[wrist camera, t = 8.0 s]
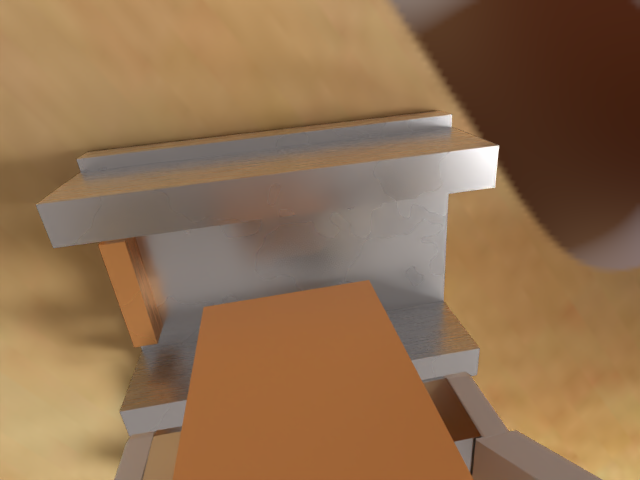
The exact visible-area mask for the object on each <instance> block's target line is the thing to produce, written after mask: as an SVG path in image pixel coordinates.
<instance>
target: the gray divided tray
mask: <svg viewBox="0 0 640 480" xmlns="http://www.w3.org/2000/svg"><path fill="white" fill-rule="evenodd" d="M498 150H499V145H497V144H494V143H492V142H489V141H486V140H484V139H481V138H479V137H476V136H474V135H471V134H469V133H466V132H464V131H461V130H459V129H456V128H453V127H452V114H449V113H446V112H443V111H431V112H423V113H414V114H406V115H397V116H389V117H380V118H372V119H363V120H355V121H346V122H338V123H329V124H321V125H312V126H304V127H295V128H287V129H278V130H269V131H261V132H252V133H244V134H235V135H227V136H218V137H210V138H201V139H193V140H184V141H176V142H167V143H159V144H150V145H142V146H133V147H125V148H116V149H108V150H99V151H91V152H87V153H85V154H84V155H82V156H80V157H79V158H77V159H76V160H77V162H78V165H79V168H80V171H81V172H80V173H78V174H77V175H76V176H74V177H73V178H72V179H70V180H69V181H67V182H66V183H65V184H63V185H62V186H60V187H59V188H58V189H56V190H55V191H54V192H52V193H51V194H49V195H48V196H47V197H45V198H44V199H42V200H41V201H40V202H38V203H37V204H36V207H37V209H38V212H39V214H40V217H41V219H42V222H43V224H44V227H45V229H46V232H47V234H48V236H49V239H50V241H51V244H52V246H53V248H59V247H66V246H73V245H81V244H88V243H95V242H100V244H99V245H98V246H99V249H100V252H101V255H102V258H103V261H104V263H105V266H106V269H107V272H108V275H109V278H110V280H111V283H112V286H113V289H114V292H115V295H116V297H117V300H118V303H119V306H120V309H121V312H122V314H123V317H124V320H125V323H126V326H127V329H128V331H129V334H130V337H131V340H132V343H133V346H134V347H140V346H141V349H142V351H141V354H140V357H139V360H138V362H137V365H136V368H135V371H134V373H133V376H132V379H131V382H130V385H129V387H128V390H127V393H126V396H125V398H124V401H123V404H122V407H121V409H120V414H121V416H122V419H123V421H124V424H125V426H126V429H127V431H128V434H129V436H131V435H134V434H140V433H146V432H152V431H157V430H162V429H168V428H174V427H180V426H182V424H183V418H184V413H185V407H186V402H187V396H188V391H189V385H190V379H191V374H192V368H193V363H194V357H195V352H196V346H197V340H198V335H199V329H200V324H201V318H202V313H203V307H207V306H213V305H219V304H225V303H231V302H237V301H243V300H249V299H255V298H262V297H268V296H274V295H280V294H286V293H292V292H298V291H304V290H310V289H317V288H323V287H329V286H335V285H341V284H347V283H353V282H359V281H365V280H369V281H370V283H371V285H372V286H373V288H374V290H375V292H376V294H377V296H378V298H379V300H380V302H381V304H382V306H383V307H384V309H385V311H386V313H387V315H388V317H389V319H390V321H391V323H392V325H393V327H394V328H395V330H396V332H397V334H398V336H399V338H400V340H401V342H402V344H403V346H404V348H405V349H406V351H407V353H408V355H409V357H410V359H411V361H412V363H413V365H414V367H415V369H416V370H417V372H418V374H419V376H420V378H421V380H425V379H430V378H435V377H440V376H442V377H443V376H445V375H450V374H455V373H460V372H467V373H468V374H470V376H474V375H477V370H478V360H479V349H480V348H479V347H478V346H477V344H476V343H475V342H474V340H473V339H472V338H471V336H470V335H469V334H468V332H467V331H466V330H465V328H464V327H463V326H462V324H461V323H460V322H459V321H458V319H457V318H456V317H455V315H454V314H453V313H452V311H451V310H450V309H449V307H448V306H447V305H446V303H445V302H444V280H445V258H446V236H447V215H448V194H451V193H458V192H466V191H473V190H480V189H487V188H495V182H496V172H497V161H498Z"/></svg>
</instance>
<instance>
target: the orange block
mask: <svg viewBox="0 0 640 480" xmlns="http://www.w3.org/2000/svg"><path fill="white" fill-rule="evenodd" d="M173 480H474V479H473V477H472V475H471V474H470V472H469V470H468V468H467V466H466V464H465V462H464V460H463V458H462V456H461V454H460V453H459V451H458V449H457V447H456V445H455V443H454V441H453V439H452V437H451V435H450V433H449V432H448V430H447V428H446V426H445V424H444V422H443V420H442V418H441V416H440V414H439V412H438V411H437V409H436V407H435V405H434V403H433V401H432V399H431V397H430V395H429V393H428V391H427V390H426V388H425V386H424V384H423V382H422V380H421V378H420V376H419V374H418V372H417V370H416V369H415V367H414V365H413V363H412V361H411V359H410V357H409V355H408V353H407V351H406V349H405V348H404V346H403V344H402V342H401V340H400V338H399V336H398V334H397V332H396V330H395V328H394V327H393V325H392V323H391V321H390V319H389V317H388V315H387V313H386V311H385V309H384V307H383V306H382V304H381V302H380V300H379V298H378V296H377V294H376V292H375V290H374V288H373V286H372V285H371V283H370V281H369V280H365V281H359V282H353V283H347V284H341V285H335V286H329V287H323V288H317V289H310V290H304V291H298V292H292V293H286V294H280V295H274V296H268V297H262V298H255V299H249V300H243V301H237V302H231V303H225V304H219V305H213V306H207V307H203V313H202V318H201V324H200V329H199V335H198V340H197V346H196V352H195V357H194V363H193V368H192V374H191V379H190V385H189V391H188V396H187V402H186V407H185V413H184V418H183V424H182V430H181V435H180V441H179V446H178V452H177V457H176V463H175V468H174V474H173Z"/></svg>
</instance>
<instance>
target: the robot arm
mask: <svg viewBox="0 0 640 480" xmlns="http://www.w3.org/2000/svg"><path fill="white" fill-rule="evenodd" d="M422 382H423V384H424V386H425V388H426V390H427V391H428V393H429V395H430V397H431V399H432V401H433V403H434V405H435V407H436V409H437V411H438V412H439V414H440V416H441V418H442V420H443V422H444V424H445V426H446V428H447V430H448V432H449V433H450V435H451V437H452V439H453V441H454V443H455V445H456V447H457V449H458V451H459V453H460V454H461V456H462V458H463V460H464V462H465V464H466V466H467V468H468V470H469V472H470V474H471V475H472V477H473V479H474V480H602V479H600V478H598V477H597V476H595V475H593V474H591V473H590V472H588V471H586V470H584V469H583V468H581V467H579V466H577V465H576V464H574V463H572V462H571V461H569V460H567V459H565V458H564V457H562V456H560V455H558V454H557V453H555V452H553V451H551V450H550V449H548V448H546V447H544V446H543V445H541V444H539V443H537V442H536V441H534V440H532V439H530V438H529V437H527V436H525V435H523V434H522V433H520V432H518V431H517V430H516V431H510V432H509V431H508V429H507V428H506V426H505V425H504V423H503V422H502V420H501V419H500V418H499V416H498V415H497V413H496V412H495V410H494V409H493V407H492V406H491V405H490V403H489V402H488V400H487V399H486V397H485V396H484V394H483V393H482V391H481V390H480V389H479V387H478V386H477V384H476V383H475V381H474V380H473V378H472V377H471V376H470V374H468V373H467V372H460V373H455V374H450V375H445V376H443V377H442V376H440V377H435V378H430V379H425V380H422ZM181 430H182V426H180V427H174V428H168V429H162V430H157V431H152V432H146V433H140V434H134V435H131V436H130V438H129V439H128V441H127V442H126V444H125V447H124V451H123V454H122V457H121V460H120V463H119V466H118V469H117V473H116V476H115V479H114V480H173V474H174V468H175V463H176V457H177V452H178V446H179V441H180V435H181Z"/></svg>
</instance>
